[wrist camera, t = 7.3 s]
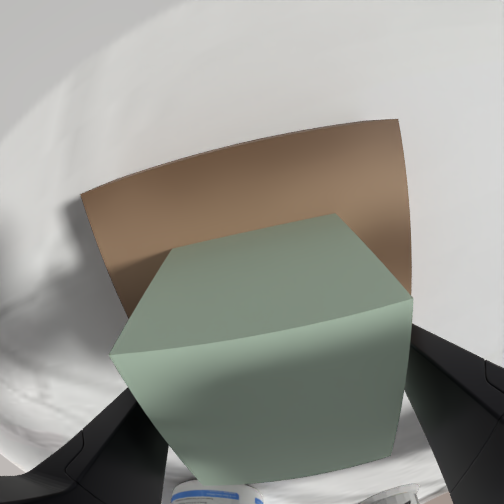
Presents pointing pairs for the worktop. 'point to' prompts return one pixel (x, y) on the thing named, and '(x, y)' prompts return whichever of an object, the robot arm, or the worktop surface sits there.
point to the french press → (396, 496)
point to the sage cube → (271, 353)
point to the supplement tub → (215, 494)
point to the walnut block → (256, 198)
